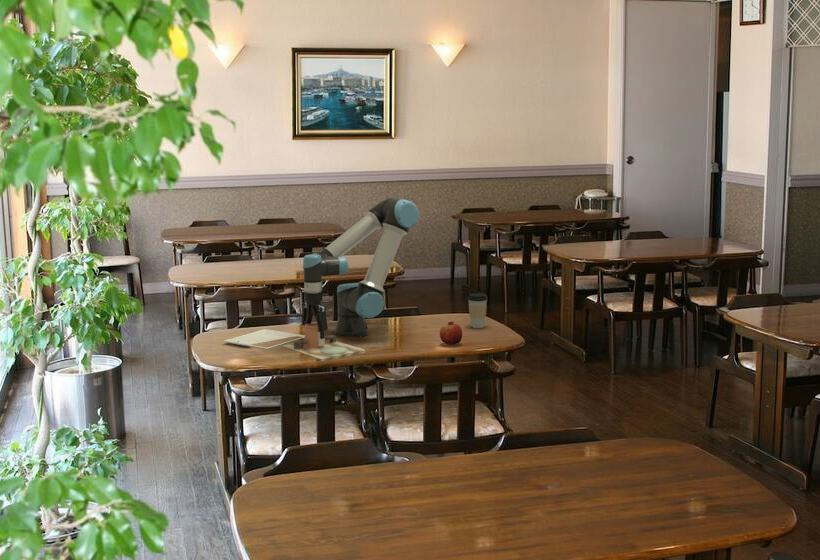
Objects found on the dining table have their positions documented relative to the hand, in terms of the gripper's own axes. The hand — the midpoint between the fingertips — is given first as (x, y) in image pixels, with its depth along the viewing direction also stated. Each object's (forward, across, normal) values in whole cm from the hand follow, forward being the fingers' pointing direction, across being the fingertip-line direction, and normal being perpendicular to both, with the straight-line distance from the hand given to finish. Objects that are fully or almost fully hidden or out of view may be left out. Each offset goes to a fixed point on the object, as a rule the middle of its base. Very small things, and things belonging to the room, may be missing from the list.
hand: (315, 344), depth 416 cm
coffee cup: (+2, +22, +76) cm, 79 cm away
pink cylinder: (0, 0, 0) cm, 0 cm away
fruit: (+2, +37, +44) cm, 58 cm away
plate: (+2, -25, -9) cm, 26 cm away
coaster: (0, +14, -1) cm, 14 cm away
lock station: (+2, +6, 0) cm, 6 cm away
